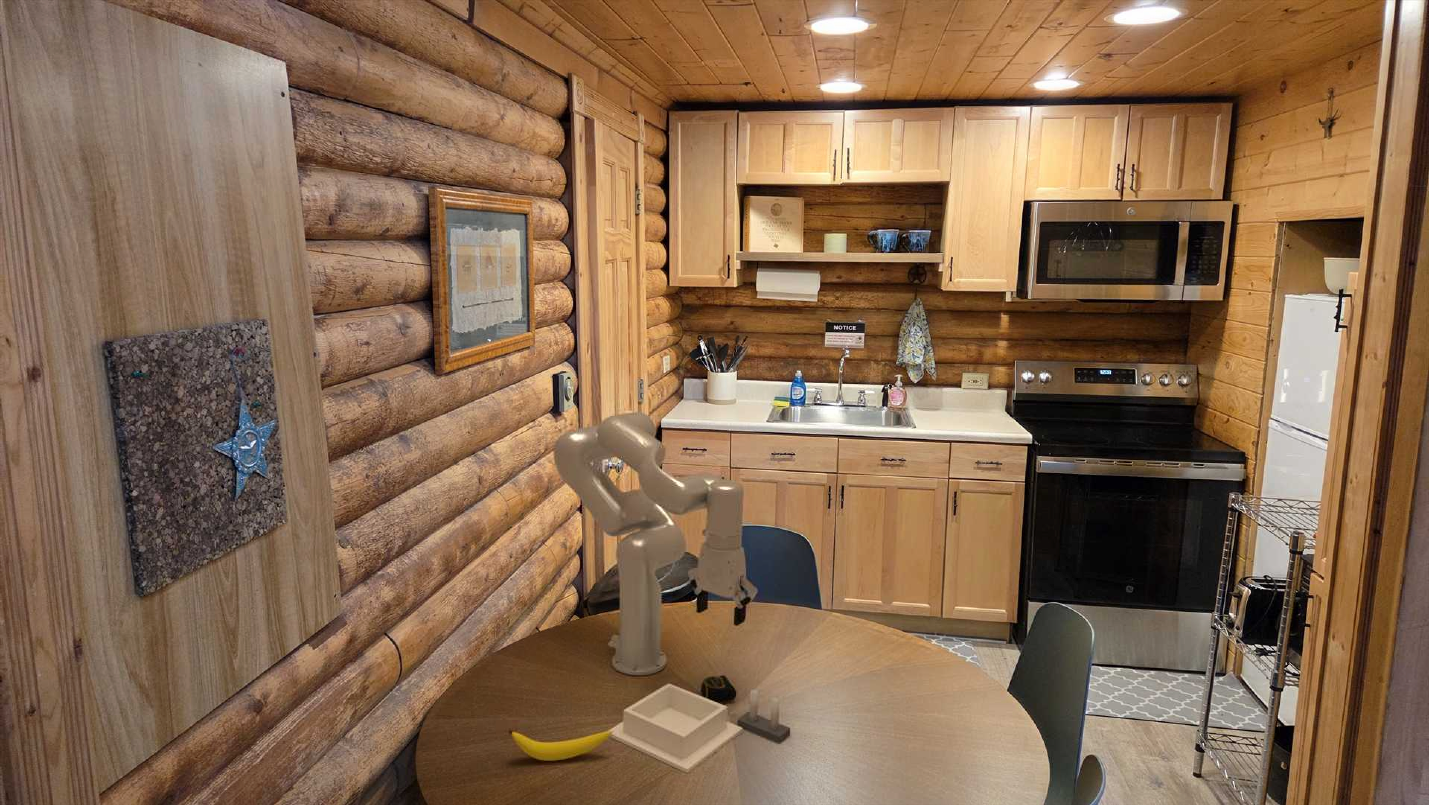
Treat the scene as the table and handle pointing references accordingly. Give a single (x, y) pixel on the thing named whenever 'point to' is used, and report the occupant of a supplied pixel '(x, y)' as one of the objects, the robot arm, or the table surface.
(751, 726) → the peg board plate
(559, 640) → the table surface
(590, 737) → the banana
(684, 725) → the white square tray
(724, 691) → the tape measure
